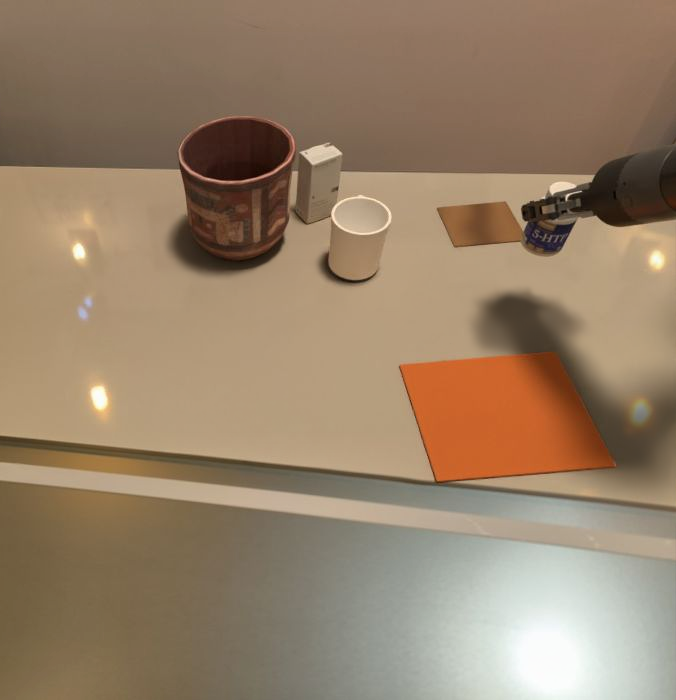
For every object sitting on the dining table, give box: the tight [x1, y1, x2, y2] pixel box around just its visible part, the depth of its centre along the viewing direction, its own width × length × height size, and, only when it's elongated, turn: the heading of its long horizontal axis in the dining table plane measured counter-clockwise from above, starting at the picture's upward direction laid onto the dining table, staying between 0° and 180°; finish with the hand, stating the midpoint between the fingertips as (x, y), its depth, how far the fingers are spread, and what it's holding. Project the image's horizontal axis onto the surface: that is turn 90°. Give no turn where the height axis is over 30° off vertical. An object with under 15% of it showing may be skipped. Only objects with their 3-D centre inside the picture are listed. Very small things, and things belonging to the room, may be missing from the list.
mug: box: [327, 194, 392, 283], centre depth 96 cm, size 11×9×10 cm
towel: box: [399, 350, 617, 483], centre depth 80 cm, size 22×18×1 cm
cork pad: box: [436, 200, 524, 248], centre depth 103 cm, size 12×10×1 cm
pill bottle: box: [520, 181, 582, 258], centre depth 79 cm, size 5×5×9 cm
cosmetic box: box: [295, 142, 344, 224], centre depth 103 cm, size 6×4×12 cm
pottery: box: [177, 115, 297, 261], centre depth 98 cm, size 18×18×18 cm
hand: (545, 208), depth 80 cm, fingers closed on pill bottle, 5 cm apart
